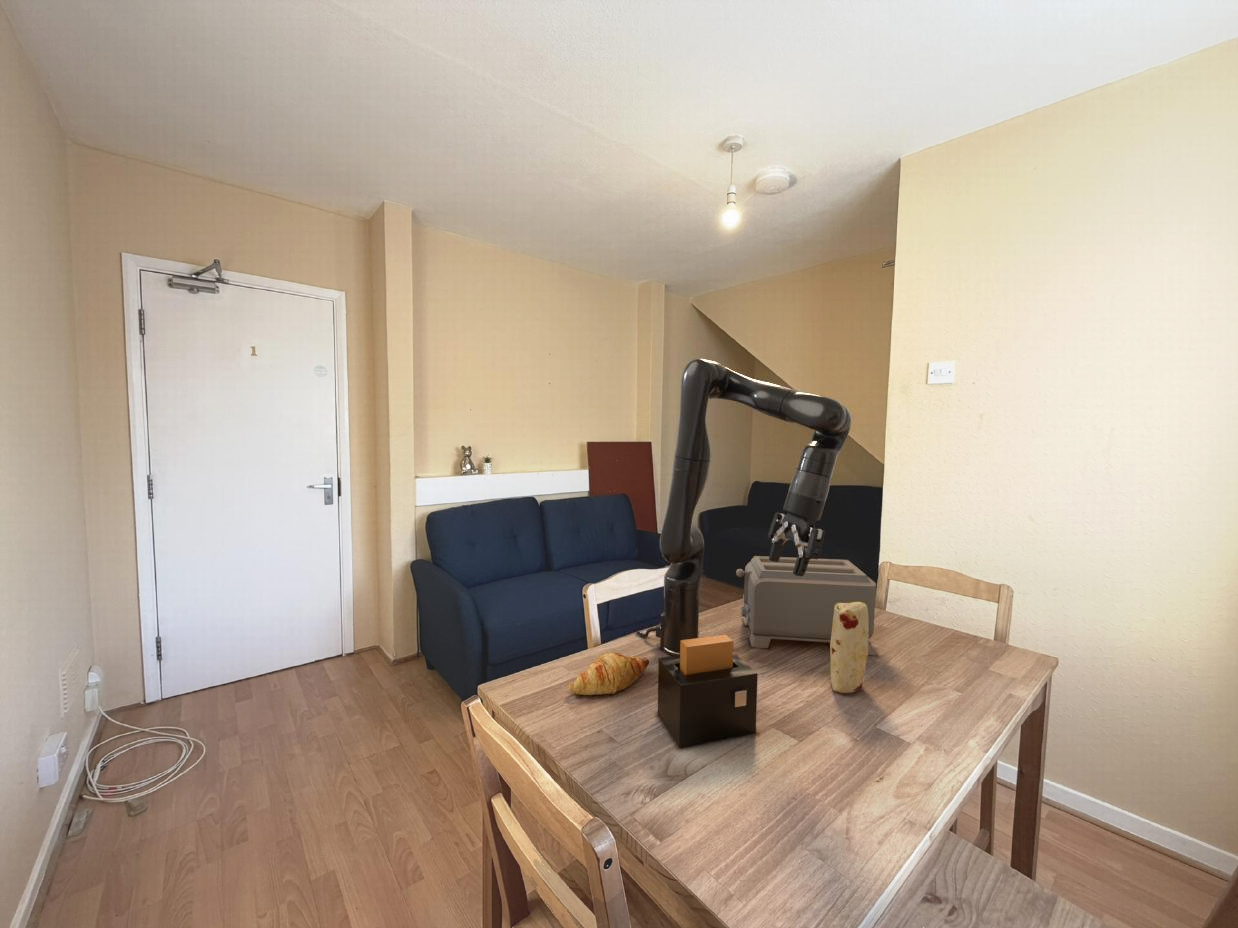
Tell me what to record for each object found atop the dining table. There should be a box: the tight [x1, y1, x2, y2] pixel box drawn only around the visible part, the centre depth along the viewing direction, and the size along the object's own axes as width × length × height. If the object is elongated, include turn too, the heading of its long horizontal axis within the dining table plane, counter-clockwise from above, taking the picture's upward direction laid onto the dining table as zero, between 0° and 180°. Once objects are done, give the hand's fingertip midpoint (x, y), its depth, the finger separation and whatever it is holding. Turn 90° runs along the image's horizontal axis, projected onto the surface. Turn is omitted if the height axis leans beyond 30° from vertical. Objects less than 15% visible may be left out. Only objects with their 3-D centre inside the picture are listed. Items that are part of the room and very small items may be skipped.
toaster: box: [735, 555, 877, 656], centre depth 137 cm, size 19×35×20 cm, turn 82°
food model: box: [829, 602, 869, 694], centre depth 109 cm, size 10×7×20 cm
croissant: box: [568, 652, 650, 696], centre depth 111 cm, size 21×10×8 cm, turn 125°
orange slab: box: [680, 634, 734, 675], centre depth 95 cm, size 3×10×10 cm, turn 106°
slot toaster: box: [657, 651, 759, 749], centre depth 95 cm, size 12×16×12 cm
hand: (785, 567), depth 102 cm, fingers open, 8 cm apart
